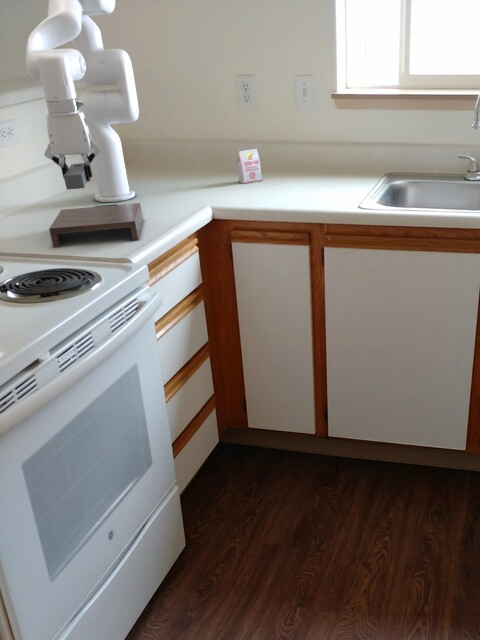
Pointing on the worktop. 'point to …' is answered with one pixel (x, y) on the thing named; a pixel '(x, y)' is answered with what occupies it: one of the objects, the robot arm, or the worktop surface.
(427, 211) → the worktop surface
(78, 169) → the grey long block
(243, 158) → the white paper food bag
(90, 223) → the shelf
